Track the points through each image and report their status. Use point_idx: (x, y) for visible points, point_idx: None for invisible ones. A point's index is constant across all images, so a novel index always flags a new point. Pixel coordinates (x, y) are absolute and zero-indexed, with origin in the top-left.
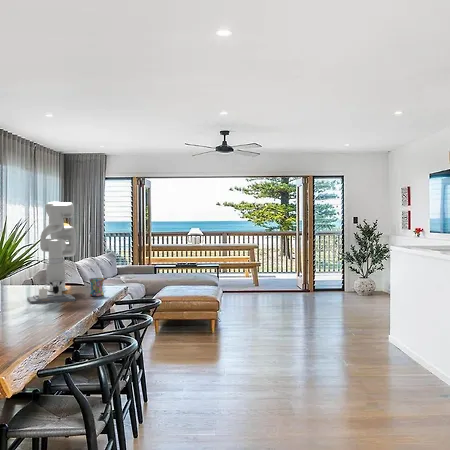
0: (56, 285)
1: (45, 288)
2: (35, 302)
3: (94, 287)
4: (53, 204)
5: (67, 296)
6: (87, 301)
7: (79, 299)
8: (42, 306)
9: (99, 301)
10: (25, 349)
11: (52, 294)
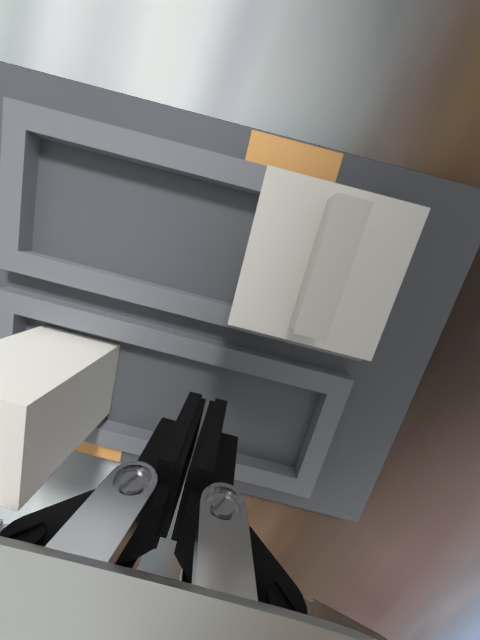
0: (176, 549)
1: (1, 466)
2: None
3: None
4: None
5: (317, 462)
6: (406, 580)
7: (427, 449)
8: None
9: (473, 635)
10: None
11: (260, 170)
